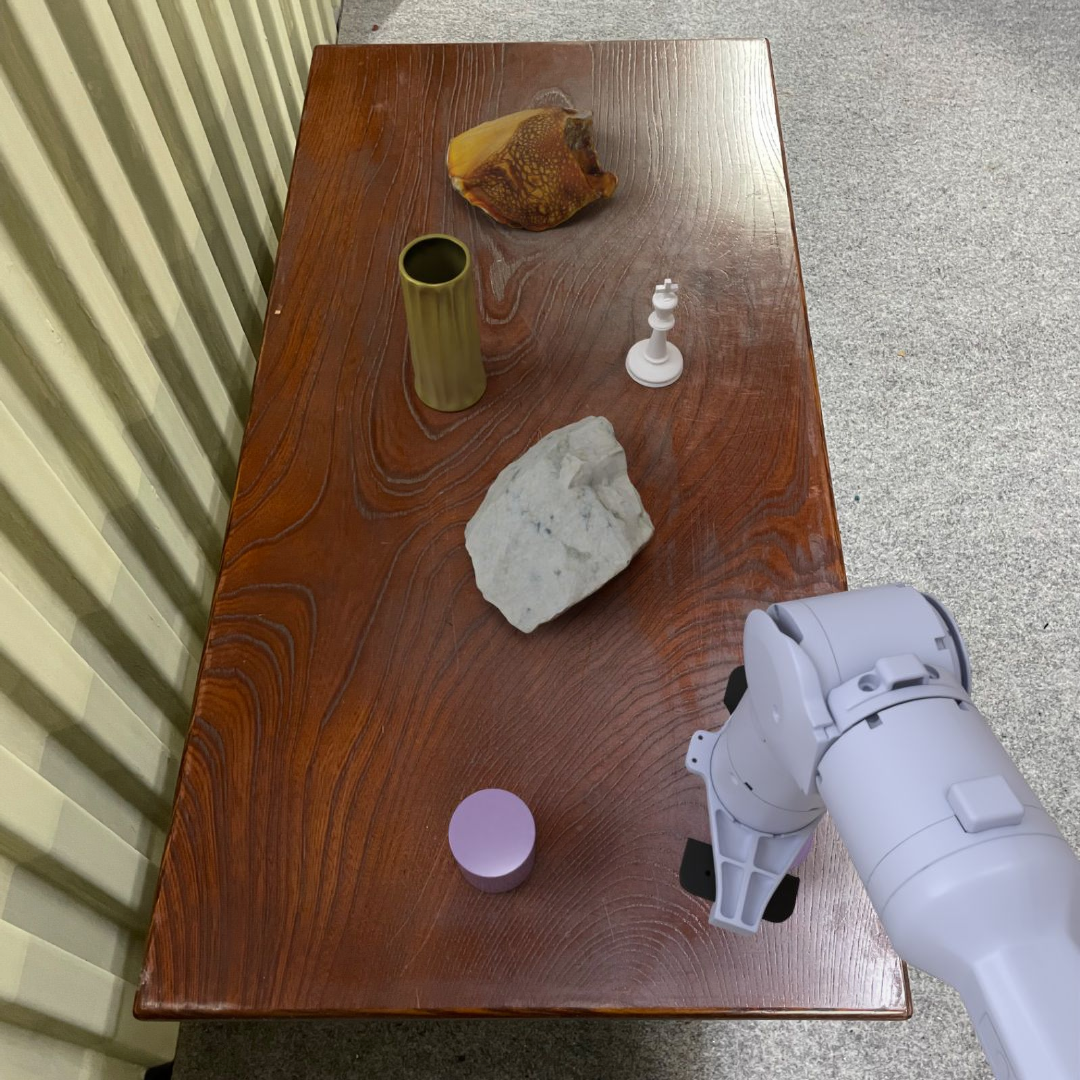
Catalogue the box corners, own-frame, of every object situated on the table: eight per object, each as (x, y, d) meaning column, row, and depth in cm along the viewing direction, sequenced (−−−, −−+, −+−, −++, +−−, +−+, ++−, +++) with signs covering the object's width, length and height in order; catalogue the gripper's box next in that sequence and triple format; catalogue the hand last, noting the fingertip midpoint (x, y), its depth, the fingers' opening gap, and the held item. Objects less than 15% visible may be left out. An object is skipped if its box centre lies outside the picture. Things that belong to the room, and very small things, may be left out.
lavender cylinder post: (515, 907, 60) (513, 892, 54) (442, 872, 61) (433, 854, 55) (548, 830, 62) (549, 809, 57) (477, 798, 63) (472, 774, 58)
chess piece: (621, 345, 82) (631, 260, 73) (677, 340, 82) (693, 255, 73) (630, 390, 79) (641, 307, 71) (687, 385, 80) (706, 302, 71)
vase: (475, 348, 82) (463, 220, 69) (496, 402, 79) (487, 279, 66) (407, 366, 81) (382, 239, 68) (425, 421, 78) (403, 299, 65)
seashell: (428, 193, 85) (450, 65, 90) (447, 246, 92) (467, 125, 97) (612, 191, 82) (624, 59, 87) (617, 246, 89) (629, 121, 94)
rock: (416, 515, 74) (403, 458, 67) (581, 424, 78) (586, 361, 71) (523, 667, 67) (521, 622, 60) (696, 558, 72) (713, 505, 65)
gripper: (739, 580, 45) (698, 679, 57) (660, 879, 39) (632, 921, 51) (886, 623, 44) (813, 715, 56) (831, 938, 38) (760, 967, 49)
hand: (735, 815), depth 53 cm, fingers open, 7 cm apart
